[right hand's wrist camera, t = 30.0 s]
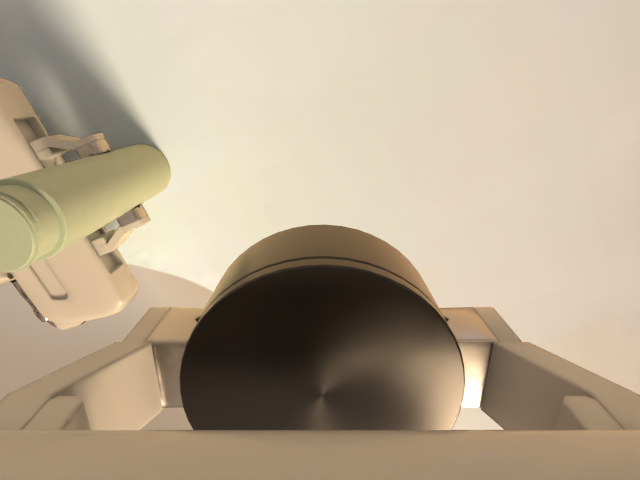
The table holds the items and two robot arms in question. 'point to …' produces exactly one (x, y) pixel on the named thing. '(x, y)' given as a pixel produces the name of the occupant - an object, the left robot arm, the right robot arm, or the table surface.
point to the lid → (322, 341)
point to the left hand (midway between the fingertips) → (124, 178)
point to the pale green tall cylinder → (73, 201)
